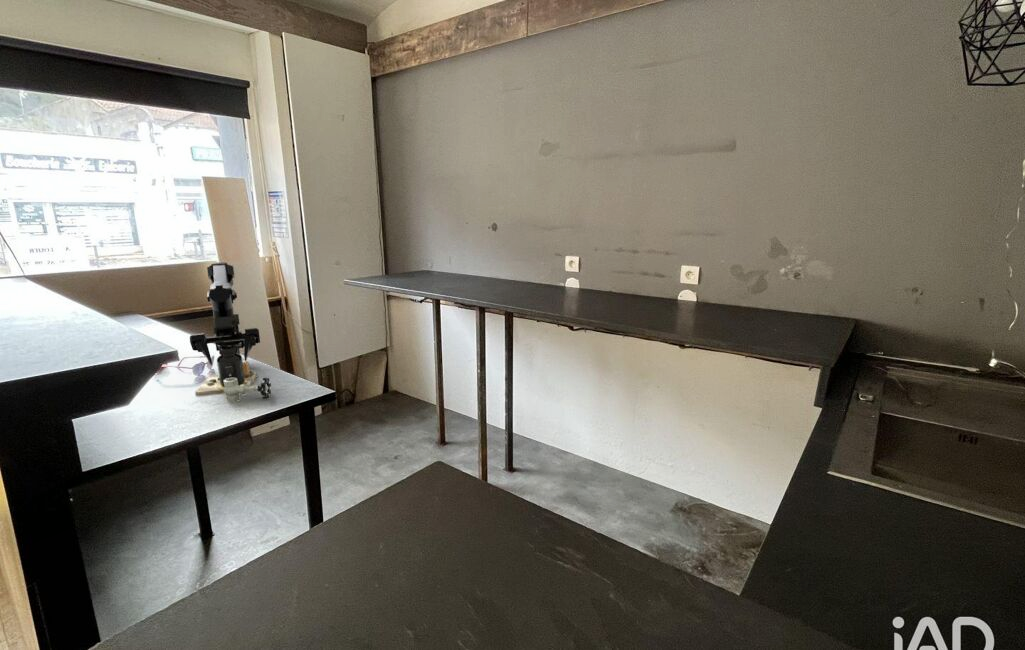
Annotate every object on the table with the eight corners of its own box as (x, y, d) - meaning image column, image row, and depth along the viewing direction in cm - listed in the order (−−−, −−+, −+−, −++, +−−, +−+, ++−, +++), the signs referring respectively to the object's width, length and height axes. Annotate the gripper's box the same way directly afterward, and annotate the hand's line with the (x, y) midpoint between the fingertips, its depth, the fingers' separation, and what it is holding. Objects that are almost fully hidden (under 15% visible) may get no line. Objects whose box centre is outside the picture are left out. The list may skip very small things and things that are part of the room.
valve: (221, 405, 140) (265, 402, 142) (218, 384, 138) (263, 381, 140) (230, 396, 146) (272, 394, 148) (227, 376, 144) (269, 373, 146)
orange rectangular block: (239, 373, 161) (238, 360, 160) (249, 372, 162) (248, 359, 161) (237, 376, 158) (235, 363, 157) (247, 375, 159) (245, 362, 158)
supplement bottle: (216, 388, 148) (211, 350, 145) (225, 380, 155) (219, 344, 152) (241, 386, 150) (235, 349, 147) (248, 379, 156) (243, 343, 153)
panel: (211, 378, 160) (210, 373, 160) (257, 375, 164) (256, 370, 164) (195, 396, 146) (194, 390, 145) (247, 391, 150) (246, 386, 149)
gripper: (185, 309, 145) (188, 353, 138) (255, 303, 154) (261, 345, 147) (191, 328, 153) (194, 371, 147) (257, 322, 162) (262, 362, 156)
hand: (228, 362), depth 149 cm, fingers open, 9 cm apart
